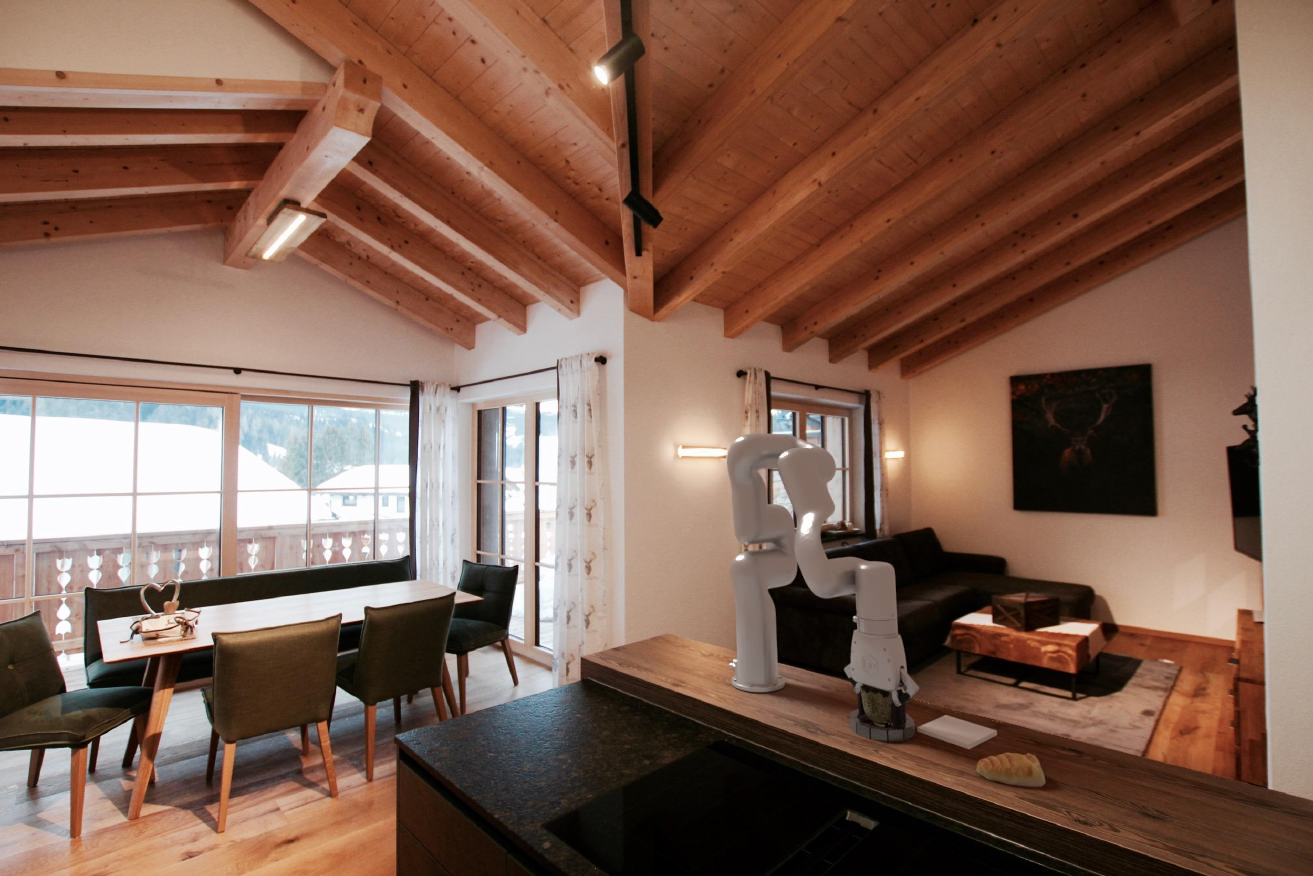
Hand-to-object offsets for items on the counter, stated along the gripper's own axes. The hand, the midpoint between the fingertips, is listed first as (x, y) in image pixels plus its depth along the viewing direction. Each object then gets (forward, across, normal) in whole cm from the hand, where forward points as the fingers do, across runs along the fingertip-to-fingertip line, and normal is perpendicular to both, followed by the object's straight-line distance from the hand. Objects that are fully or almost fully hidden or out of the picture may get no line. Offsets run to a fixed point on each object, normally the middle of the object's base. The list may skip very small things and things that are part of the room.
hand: (881, 718), depth 121 cm
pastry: (+2, +25, 0) cm, 25 cm away
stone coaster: (+2, +10, +9) cm, 14 cm away
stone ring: (+2, 0, 0) cm, 2 cm away
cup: (+2, 0, 0) cm, 2 cm away
